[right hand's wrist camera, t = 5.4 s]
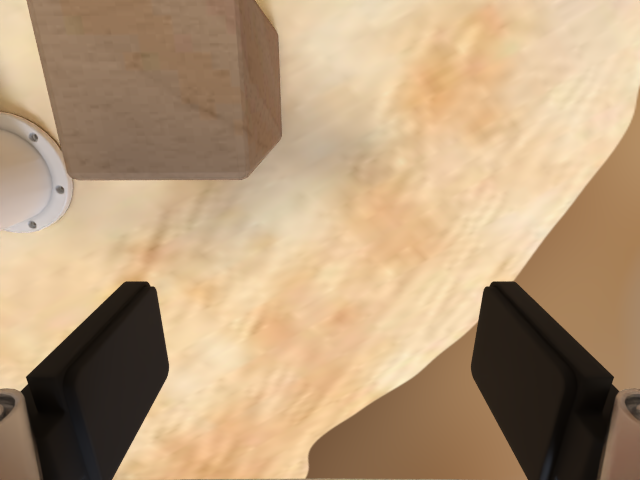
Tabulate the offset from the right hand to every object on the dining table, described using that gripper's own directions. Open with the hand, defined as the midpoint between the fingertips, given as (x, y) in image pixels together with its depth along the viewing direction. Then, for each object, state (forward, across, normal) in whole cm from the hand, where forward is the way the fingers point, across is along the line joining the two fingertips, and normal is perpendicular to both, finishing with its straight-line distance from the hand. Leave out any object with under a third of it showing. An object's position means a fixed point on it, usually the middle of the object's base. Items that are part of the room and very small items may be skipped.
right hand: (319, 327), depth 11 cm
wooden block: (+32, -9, +7) cm, 33 cm away
